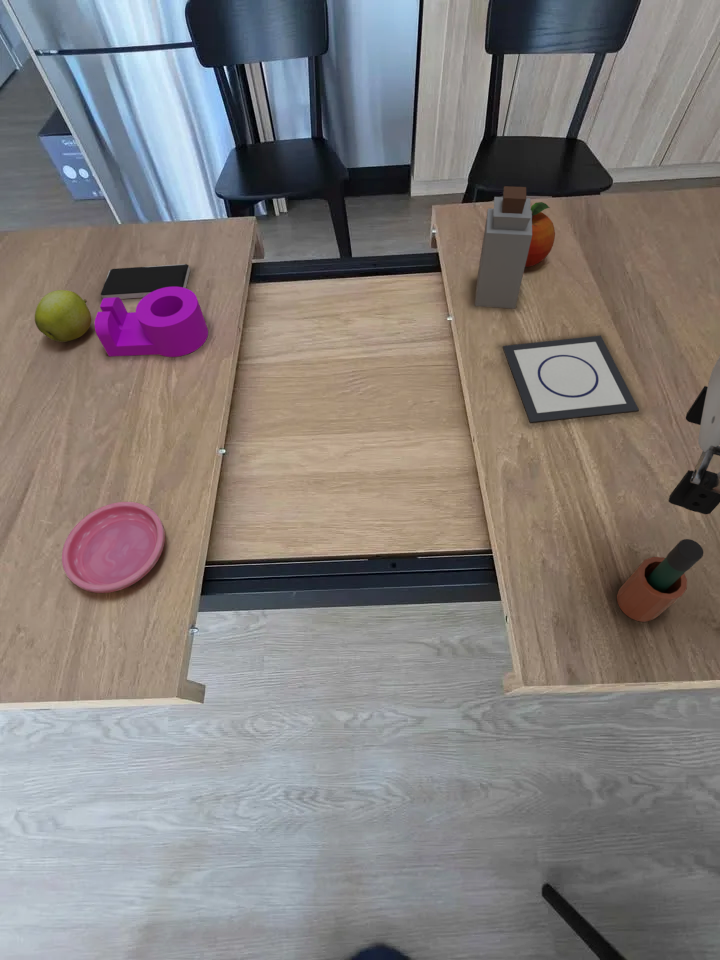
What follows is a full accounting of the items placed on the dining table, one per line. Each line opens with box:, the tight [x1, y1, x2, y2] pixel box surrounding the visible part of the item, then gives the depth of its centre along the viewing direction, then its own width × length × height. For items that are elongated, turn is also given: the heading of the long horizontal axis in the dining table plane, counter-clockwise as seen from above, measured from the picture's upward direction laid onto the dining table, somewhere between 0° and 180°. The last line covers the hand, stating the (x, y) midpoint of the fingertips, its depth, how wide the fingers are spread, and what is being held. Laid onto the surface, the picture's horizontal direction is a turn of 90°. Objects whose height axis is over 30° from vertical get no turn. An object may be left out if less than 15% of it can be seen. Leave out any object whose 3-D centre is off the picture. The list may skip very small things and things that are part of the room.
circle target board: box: [502, 335, 640, 424], centre depth 84 cm, size 16×16×1 cm
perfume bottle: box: [474, 185, 532, 310], centre depth 89 cm, size 7×7×18 cm
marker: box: [646, 538, 704, 593], centre depth 59 cm, size 2×2×13 cm
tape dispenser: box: [94, 287, 209, 358], centre depth 91 cm, size 16×10×6 cm, turn 91°
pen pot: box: [616, 556, 688, 623], centre depth 62 cm, size 5×5×7 cm
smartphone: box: [100, 263, 191, 300], centre depth 102 cm, size 8×1×15 cm
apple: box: [34, 289, 92, 343], centre depth 92 cm, size 8×9×8 cm
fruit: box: [525, 201, 556, 268], centre depth 97 cm, size 10×10×10 cm
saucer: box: [61, 501, 166, 594], centre depth 70 cm, size 12×12×3 cm
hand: (695, 462), depth 48 cm, fingers open, 9 cm apart
